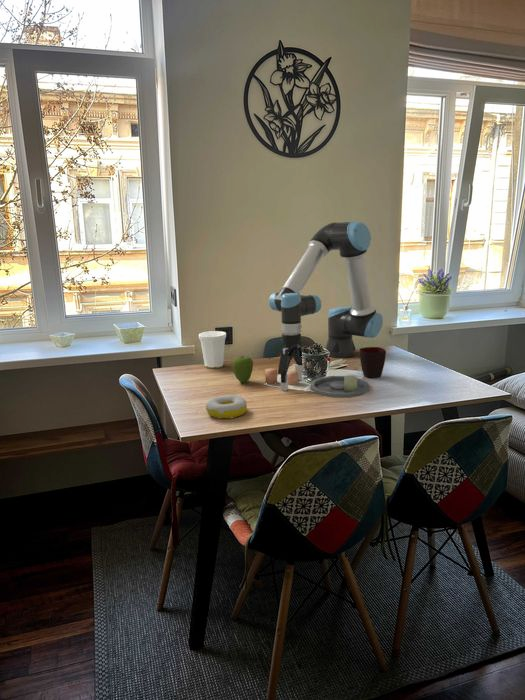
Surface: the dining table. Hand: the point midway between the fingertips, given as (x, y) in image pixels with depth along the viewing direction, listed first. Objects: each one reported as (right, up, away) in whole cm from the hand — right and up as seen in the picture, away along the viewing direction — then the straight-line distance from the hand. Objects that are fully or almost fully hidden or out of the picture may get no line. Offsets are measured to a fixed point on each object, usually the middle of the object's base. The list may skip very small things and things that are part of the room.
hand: (291, 385), depth 202 cm
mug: (+33, +3, +9) cm, 34 cm away
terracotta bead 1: (-8, +1, +4) cm, 9 cm away
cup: (-34, +6, +31) cm, 47 cm away
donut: (-24, -8, -27) cm, 37 cm away
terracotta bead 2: (0, 0, 0) cm, 0 cm away
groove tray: (+18, -1, -7) cm, 19 cm away
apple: (-20, +1, +6) cm, 21 cm away
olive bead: (+21, -2, -12) cm, 25 cm away
